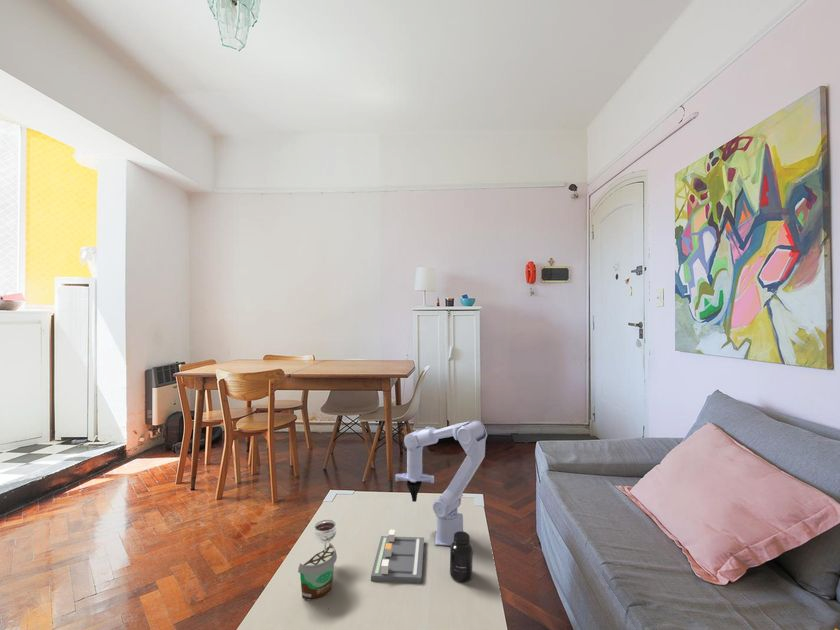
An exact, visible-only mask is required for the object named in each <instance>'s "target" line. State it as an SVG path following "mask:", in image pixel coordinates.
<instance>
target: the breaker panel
mask: <svg viewBox="0 0 840 630" xmlns="http://www.w3.org/2000/svg"><path fill="white" fill-rule="evenodd" d="M386 543H392V555H391V557H385V547H386ZM424 546H425V537H418V536H417V537H416V536H413V537H412V536H395V541H394V542H388V535H381V536H380V540H379V543H378V548H377V551H376V555H375V559H374V563H373V566H372V569H371V574H370V581H371V582H391V583H392V582H393V583H416V584H417V583H418V584H419V583H420V584H421V583H422V578H423V564H424V562H423V561H424ZM383 559H389V571H388V574H381V565H382V560H383Z"/></svg>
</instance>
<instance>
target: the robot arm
mask: <svg viewBox="0 0 840 630" xmlns="http://www.w3.org/2000/svg"><path fill="white" fill-rule="evenodd" d="M450 437H453V438H454V440H455V441H458V442H459V444H460V446H461V448H462V449H463V450H464V452H465V454H466V457H465V458H464V460H463V461H462V463H461V465H460V467H459V468H458V470H457V471H456V472H455V475H454V476H453V478H452V480H451V481H450V483H449V485H448V486H447V487H446V489H445V490H444V491H443V492H442V493H441V495H440V496H439V497H438V498H437V499H435V500H434V501H433V503H432V510H433V512H434V514H435V517H436V531H435V539H434V540H435V545H436V546H450V547H451V544H452V542H453V541H454V534H455V533H456V532H459V531H462V532H465V531H464V516H463V513H460V512H458V511H459V509H458V508H459V507H460V506H461V503H462V497H463V496H464V495H463V492H464V490H465V489H466V487H467V486H468V484H469V483H470V482H471V480H472V478H473V476H474V475H475V473H476V471H478V469H479V467H480V465H481V464H482V462H483V460H484V458H485V457H486V440H487V438H488V433H487V430H486V426H485V424H483V423H482V422H481V421H479V420H473V421H465V422H460V423H455V424H452V425H449V426H446V427H442V428H438V429H437V428H435V427H433V426H430V425H429V426H426V427H424V428H423V429H416V430H414V431H413V432H410V433H408V434H406V435H405V436H404V439H403V444H404V446H405V448H406V473H404V472H403V473H396V474H395V476H394V477H395V479H394V481H395V482H399V481H400V482H401V481H404V482H406V485H407V488H408V490H409V492H410V496H411V500H412V502H414V503H415V502H417V498H418V494H419V491H420V488H421V485H422V483H431V484H434V483H435V476H434V475H430V474H426V473H423V450H424V447H426V446H430V445H434V444H437V443H438V442H439V439H445V438H450Z"/></svg>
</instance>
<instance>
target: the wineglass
mask: <svg viewBox="0 0 840 630" xmlns="http://www.w3.org/2000/svg"><path fill="white" fill-rule="evenodd" d="M313 528H314V532H313V535H314V539H315V540H316V542H318V543H319V544H323V550H325V549H326V548H327V544H329V543H331V541H332V540H333V539H334V538H335V536H336V534H337V528H336V521H334V520H332V519H324V520H319V521H317V522H316V523H315V525H314V527H313Z"/></svg>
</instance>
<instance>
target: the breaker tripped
mask: <svg viewBox="0 0 840 630" xmlns="http://www.w3.org/2000/svg"><path fill="white" fill-rule="evenodd" d="M391 555H392V543H386V547H385V557H391Z"/></svg>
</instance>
